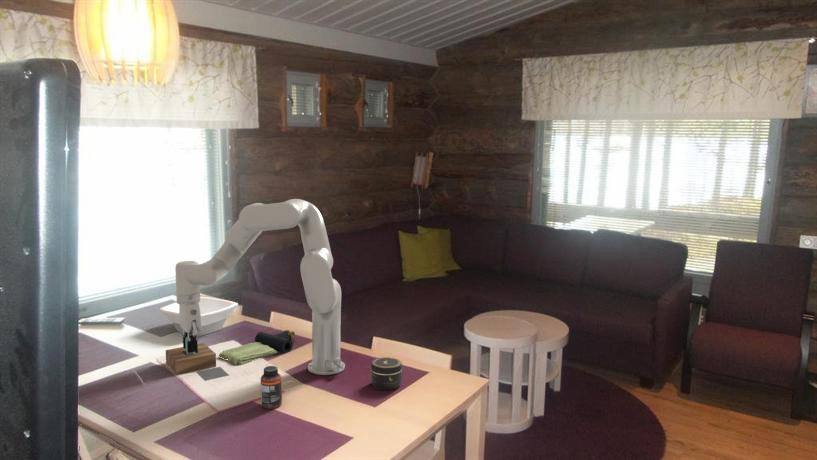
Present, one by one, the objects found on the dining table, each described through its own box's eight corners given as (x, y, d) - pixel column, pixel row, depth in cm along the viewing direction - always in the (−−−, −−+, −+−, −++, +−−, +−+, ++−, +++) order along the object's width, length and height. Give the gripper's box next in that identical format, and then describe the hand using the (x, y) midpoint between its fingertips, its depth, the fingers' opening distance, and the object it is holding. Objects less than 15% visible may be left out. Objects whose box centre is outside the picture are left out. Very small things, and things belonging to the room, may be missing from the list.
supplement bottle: (273, 398, 173) (272, 362, 172) (286, 404, 170) (285, 367, 168) (256, 405, 169) (256, 368, 167) (269, 411, 165) (268, 373, 163)
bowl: (199, 318, 254) (199, 295, 253) (244, 326, 243) (243, 302, 242) (154, 333, 233) (153, 308, 231) (200, 343, 222) (199, 317, 220)
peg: (196, 366, 198) (195, 338, 197) (187, 368, 196) (186, 340, 195) (194, 363, 200) (193, 336, 199) (185, 365, 199) (184, 337, 197)
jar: (376, 393, 179) (376, 369, 178) (366, 381, 188) (366, 358, 187) (406, 388, 182) (406, 365, 181) (395, 377, 192) (395, 355, 190)
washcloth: (279, 355, 211) (279, 346, 211) (237, 368, 198) (237, 359, 197) (257, 347, 220) (257, 338, 219) (216, 359, 206) (216, 350, 206)
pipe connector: (277, 325, 228) (304, 333, 220) (277, 338, 229) (305, 346, 221) (254, 333, 219) (282, 341, 211) (255, 346, 220) (282, 355, 211)
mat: (229, 376, 190) (229, 375, 190) (204, 381, 185) (204, 380, 185) (220, 367, 197) (220, 366, 197) (196, 372, 192) (196, 371, 192)
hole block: (216, 367, 197) (215, 353, 196) (176, 375, 189) (176, 361, 189) (204, 356, 207) (203, 343, 207) (166, 363, 200) (165, 350, 199)
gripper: (207, 301, 191) (209, 354, 193) (192, 291, 204) (194, 341, 207) (184, 304, 186) (186, 359, 189) (170, 294, 200) (172, 345, 202)
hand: (190, 349), depth 198 cm, fingers open, 4 cm apart
